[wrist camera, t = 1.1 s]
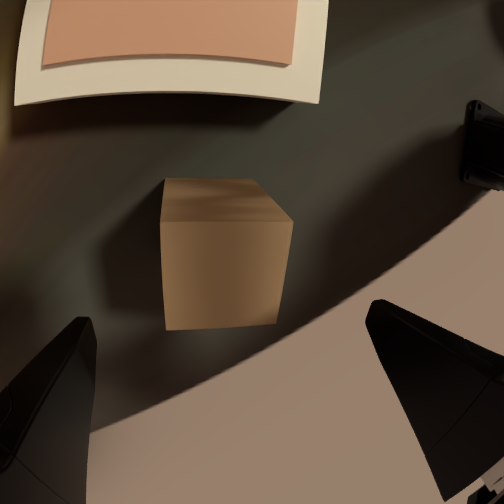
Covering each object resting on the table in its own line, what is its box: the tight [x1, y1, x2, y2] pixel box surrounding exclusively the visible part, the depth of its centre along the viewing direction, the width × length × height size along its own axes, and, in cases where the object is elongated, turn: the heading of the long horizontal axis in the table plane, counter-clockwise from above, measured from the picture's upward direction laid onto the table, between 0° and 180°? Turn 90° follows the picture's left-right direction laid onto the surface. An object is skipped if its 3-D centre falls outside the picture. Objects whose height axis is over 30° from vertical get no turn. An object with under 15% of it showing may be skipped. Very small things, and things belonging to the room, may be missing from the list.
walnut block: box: [160, 178, 293, 330], centre depth 14 cm, size 4×4×6 cm
